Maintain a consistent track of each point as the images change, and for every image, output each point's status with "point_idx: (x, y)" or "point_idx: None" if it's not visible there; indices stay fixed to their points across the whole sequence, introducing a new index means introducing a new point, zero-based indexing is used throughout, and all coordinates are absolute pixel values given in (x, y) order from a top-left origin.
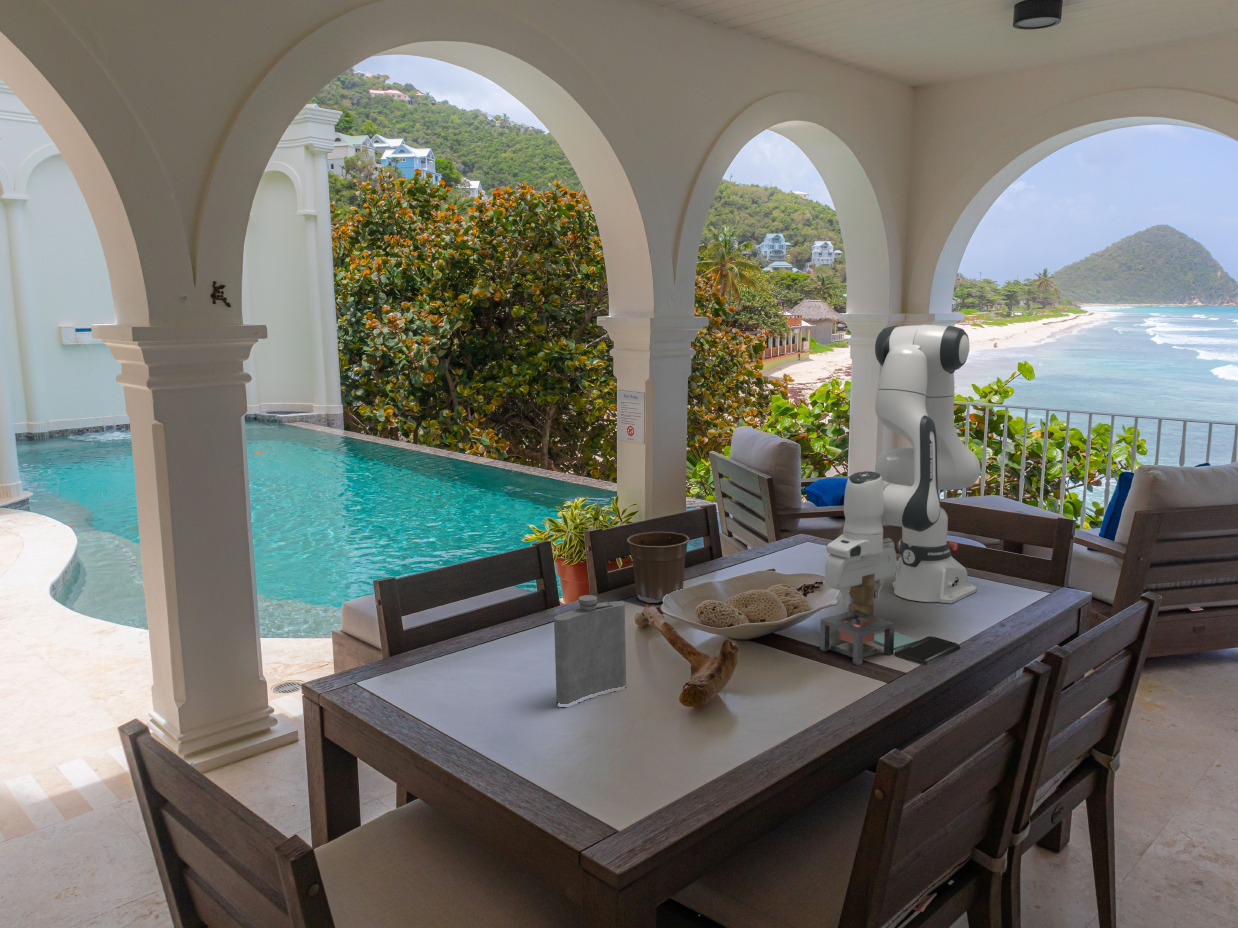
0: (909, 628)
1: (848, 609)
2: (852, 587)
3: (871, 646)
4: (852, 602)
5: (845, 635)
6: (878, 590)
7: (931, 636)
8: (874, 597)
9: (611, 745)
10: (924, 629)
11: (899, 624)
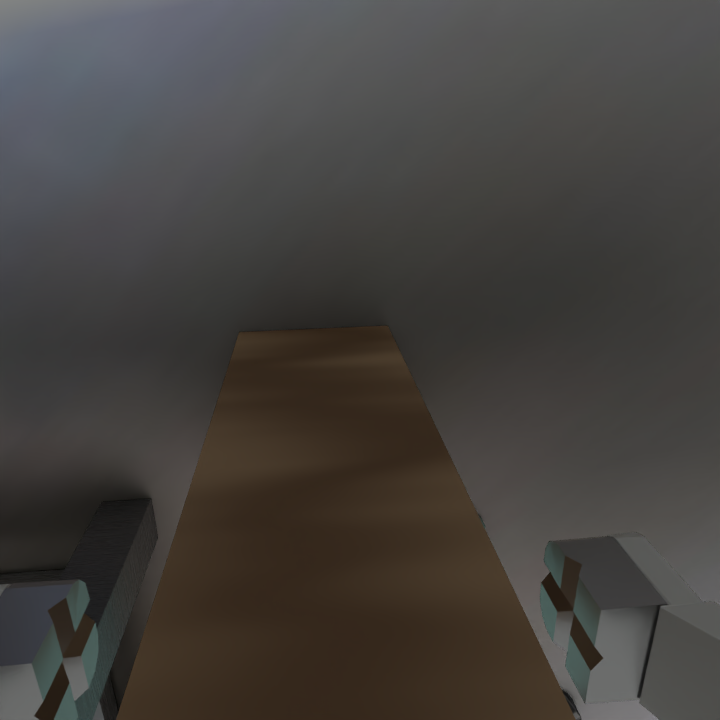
0: (644, 523)
1: (212, 417)
2: None
3: (97, 706)
4: (75, 685)
5: None
6: (651, 709)
7: (574, 712)
8: (545, 614)
9: None
10: (695, 575)
11: (669, 438)
